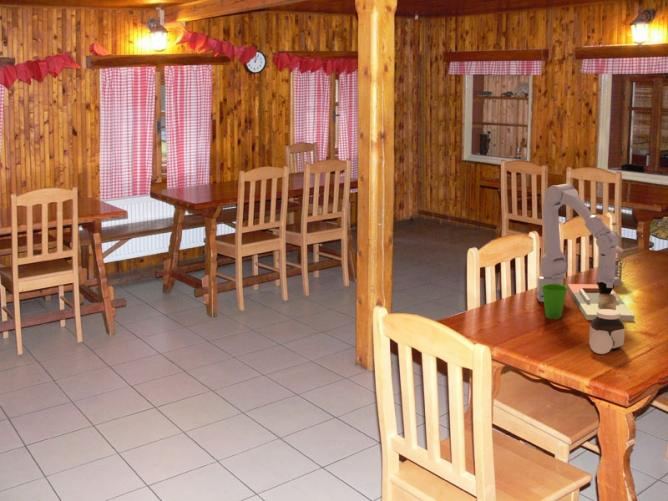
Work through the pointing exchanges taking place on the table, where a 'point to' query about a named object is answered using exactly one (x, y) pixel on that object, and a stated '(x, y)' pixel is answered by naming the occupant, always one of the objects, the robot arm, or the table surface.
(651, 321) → the table surface
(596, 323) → the spread jar
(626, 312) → the chute board
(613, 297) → the maple block
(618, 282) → the french press
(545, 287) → the cup
